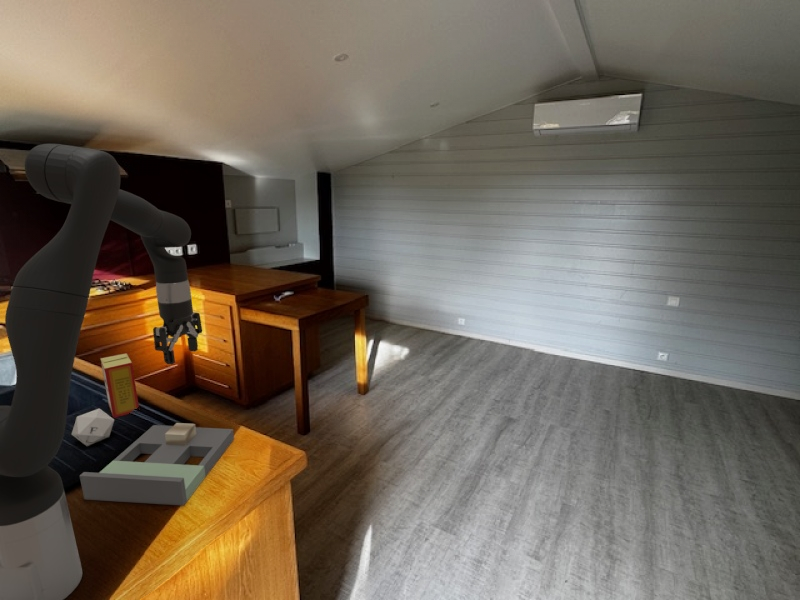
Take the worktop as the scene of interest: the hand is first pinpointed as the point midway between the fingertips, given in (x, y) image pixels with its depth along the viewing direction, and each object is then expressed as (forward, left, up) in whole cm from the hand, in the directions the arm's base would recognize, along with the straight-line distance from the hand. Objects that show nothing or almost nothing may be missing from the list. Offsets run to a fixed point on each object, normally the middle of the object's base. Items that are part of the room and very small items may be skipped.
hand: (182, 357), depth 106 cm
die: (-6, +23, -23) cm, 33 cm away
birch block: (-8, -2, -19) cm, 21 cm away
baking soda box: (+10, +27, -23) cm, 37 cm away
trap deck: (-14, -2, -22) cm, 27 cm away
